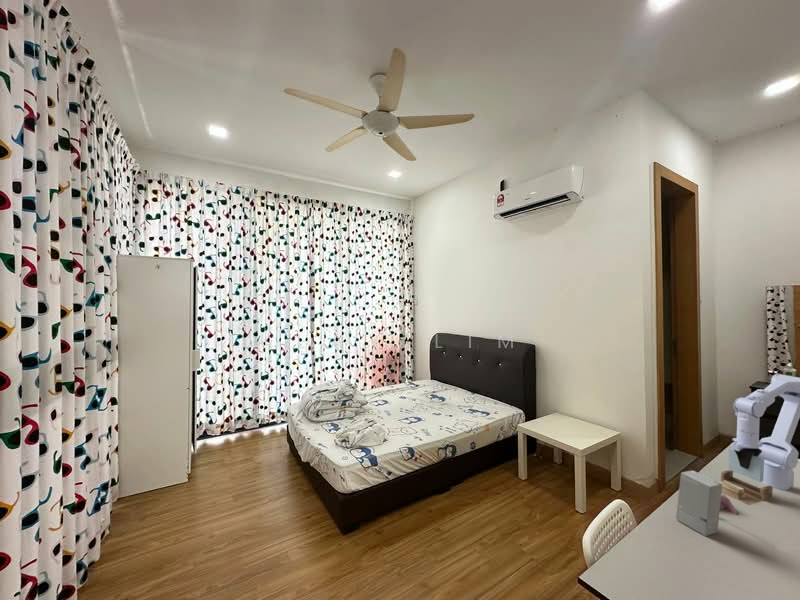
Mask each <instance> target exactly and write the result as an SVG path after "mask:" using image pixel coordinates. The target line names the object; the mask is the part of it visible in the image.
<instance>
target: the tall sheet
mask: <svg viewBox="0 0 800 600" xmlns="http://www.w3.org/2000/svg"><path fill="white" fill-rule="evenodd" d="M728 451H729V452H728V470H731V471H733V473H737V474H739V475H741V476H744V477H747V478H748V479H752V480H754V481H757V482H759V483H763V482H762V481H763V477H764V459H762V458H759V457H756V456H752V458H751V461H750V466H749V468H748V469H746V468H743V467H741V466H740V463H739V460H738V457H737V454H736V453H735V451H734V450H733V449H732V448H729V450H728Z"/></svg>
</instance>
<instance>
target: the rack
mask: <svg viewBox="0 0 800 600" xmlns="http://www.w3.org/2000/svg"><path fill="white" fill-rule="evenodd" d="M720 476H721V477H720V481H724V480H725V481H727V482H729V483H732V484H734V485H736V486H739V487H741V488H743V489H744V494H745V498H741V499H737V498H734V497H732V496H730V495H728V494H726V493H724V492H722V493H721V494H723V495H725V496H726V495H727V496H729V497H731V498H733V499H735V500H737V501H739V502H741V503H744V504H746V505H753V504H755V503H760V502H762V501H763V502H764V501H766V500H770V499H773V490H774V489H773V487H772V486H768V485H766V486H764V487H758V486H755V485H753V484H751V483H748V482H745V481H743V480H741V479H738V478H736V477H734V471H731V470H729V469H728V470H724V471H721V472H720Z"/></svg>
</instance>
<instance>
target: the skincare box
mask: <svg viewBox="0 0 800 600" xmlns="http://www.w3.org/2000/svg"><path fill="white" fill-rule="evenodd" d="M719 482H720V481H719ZM719 482H718V481H716V480H714V479H712V478H710V477H709V476H707V475H705V474H704V475H703V474H701V473H700V472H698V471H696V470H687V471H682V472H681V473H680V478H679V487H678V489H679V490H678V497H677V499H678V500H677V507H676V515H675V516H676V517H675V518H676V520H677V521H678V522H680V523H681V524H684V525H686V526H687V527H689V528H691V529H692V530H695V531H696V532H698V533H699V534H701V535H702V536H704V537H707V536H710V535H713V534H715V533H716V534H717V533H718V530H719V529H718V528H719V519H720V510H721V508H720V502H721V494H723V493H722V484H721V483H719Z"/></svg>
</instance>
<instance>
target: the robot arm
mask: <svg viewBox="0 0 800 600" xmlns="http://www.w3.org/2000/svg"><path fill="white" fill-rule="evenodd" d="M776 397H781V398H783V400H784V401H783V404H782V406H781V409H780V412H779V414H778V417H777V420H776V423H775V425H774V428H773V430H772V432H771V433H772V434H771V435H770V436H768V437H762V438H761V439H760V420H761V419H760V418H761V417H763V415H764V414H765V411H766V410H767V408H768V407H769V406H771V405H772V404H773V403H775V401H776V399H775V398H776ZM732 406H733V410H734V411H735V417H736V422H737V423H736V437H733V438H732V441H734V442H733V443H732V444H731V449H733V450H734V451H735V453H736V454H737V457H738V460H739V463H740V466H741V467H743V468H746V469H748V468H749V466H750V461H751V458H752V456H756V457H759V458H762V459H764V477H763V481H762V482H761V483H763V484H764V485H766V486H772V487H773V488H774V489H777V490H783V491H789V489H790V488H793V489H794V487H795V486H794V484H795V482H794V481H795V480H794V479H795V472H794V470H793V469H795V468H796V467H797V466H798V463H799V451H798V450H797V448H796V447H795V446H794V445H792V443H791V442H792V441H793V440H792V439H793V436H794V435H795V432H796V428H797V426H798V423H799V420H800V377H797V376H792V375H787V374H781V373H776V374H774V375H773V376H771V381H770V384H769V385H768V386H766V387H765V388H763V389H761V388H760V389H758V388H757V389H756V390H755V391H753V392H751V393H750V394H749V395H747V396H746V397H741V396H740V397H737V398H736V399H735V401H733V405H732Z"/></svg>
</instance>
